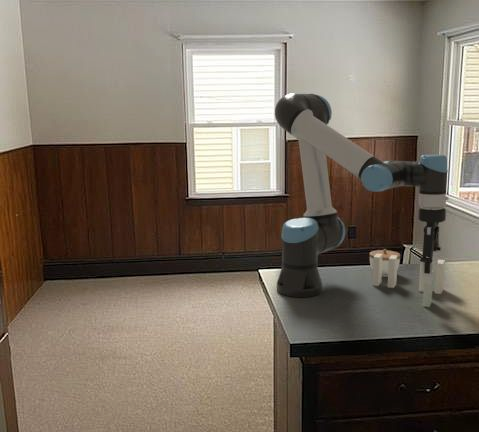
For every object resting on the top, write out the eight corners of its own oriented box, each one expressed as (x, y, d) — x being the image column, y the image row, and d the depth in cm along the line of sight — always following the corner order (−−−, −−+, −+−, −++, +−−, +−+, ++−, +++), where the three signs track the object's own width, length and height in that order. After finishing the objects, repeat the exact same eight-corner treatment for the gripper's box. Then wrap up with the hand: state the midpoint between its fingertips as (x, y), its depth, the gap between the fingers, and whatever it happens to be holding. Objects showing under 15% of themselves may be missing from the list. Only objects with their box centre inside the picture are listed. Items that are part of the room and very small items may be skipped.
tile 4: (418, 291, 171) (420, 261, 169) (420, 286, 176) (422, 257, 174) (425, 292, 170) (426, 262, 169) (427, 287, 175) (428, 258, 173)
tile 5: (434, 293, 169) (436, 263, 167) (436, 288, 174) (438, 259, 172) (441, 294, 168) (443, 263, 166) (443, 289, 173) (444, 260, 171)
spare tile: (422, 306, 158) (424, 274, 156) (424, 301, 162) (426, 269, 160) (429, 307, 157) (431, 275, 155) (431, 302, 161) (433, 270, 159)
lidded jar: (403, 272, 192) (404, 247, 190) (394, 280, 183) (395, 254, 181) (374, 268, 197) (375, 244, 196) (364, 276, 189) (365, 250, 187)
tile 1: (372, 285, 178) (373, 256, 176) (375, 281, 182) (376, 253, 180) (378, 286, 177) (379, 257, 175) (381, 282, 181) (382, 254, 180)
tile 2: (387, 287, 176) (388, 258, 174) (390, 283, 180) (391, 254, 178) (393, 288, 175) (394, 259, 173) (396, 283, 179) (397, 255, 177)
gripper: (441, 215, 141) (438, 290, 145) (449, 202, 163) (447, 267, 167) (412, 213, 145) (410, 287, 148) (424, 201, 167) (422, 265, 170)
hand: (429, 277), depth 158 cm, fingers open, 13 cm apart
